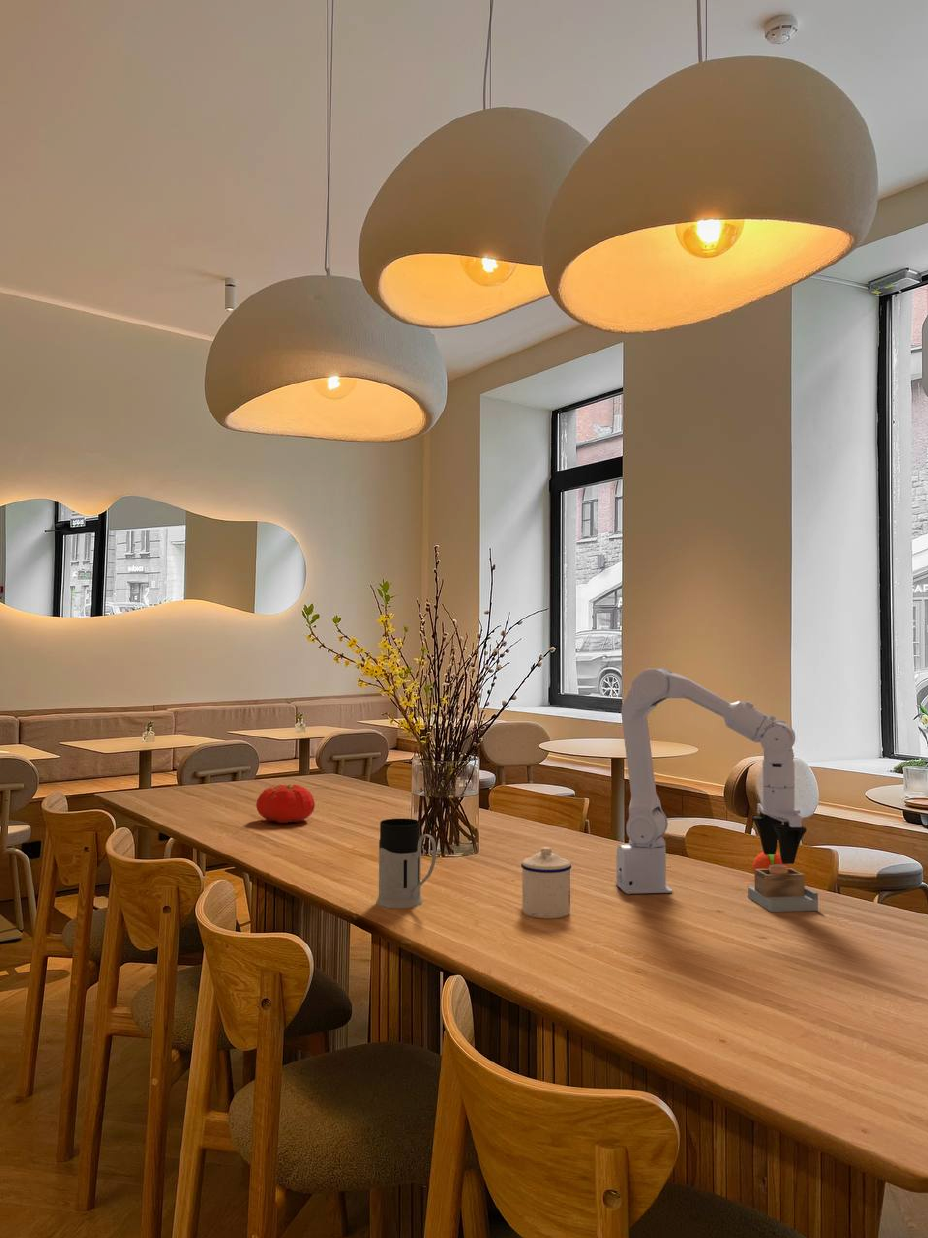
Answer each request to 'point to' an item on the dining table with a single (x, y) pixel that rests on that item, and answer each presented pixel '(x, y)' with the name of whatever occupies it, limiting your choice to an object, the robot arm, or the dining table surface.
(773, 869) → the ball
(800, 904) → the dock
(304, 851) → the dining table surface
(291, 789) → the tomato
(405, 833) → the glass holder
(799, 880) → the open wooden crate
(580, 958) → the dining table surface
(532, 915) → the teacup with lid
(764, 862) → the red fruit
